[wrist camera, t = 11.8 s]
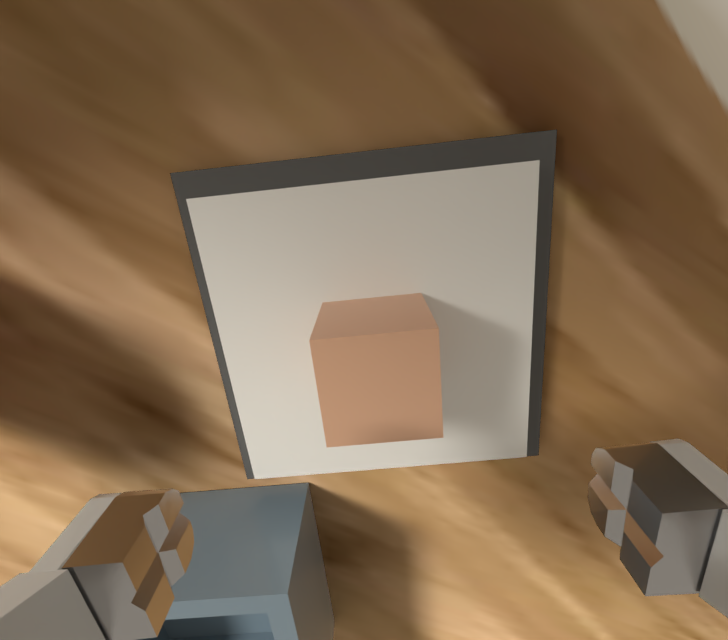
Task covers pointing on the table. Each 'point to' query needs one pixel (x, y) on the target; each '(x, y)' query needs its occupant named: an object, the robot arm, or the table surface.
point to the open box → (251, 568)
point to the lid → (376, 317)
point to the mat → (378, 167)
